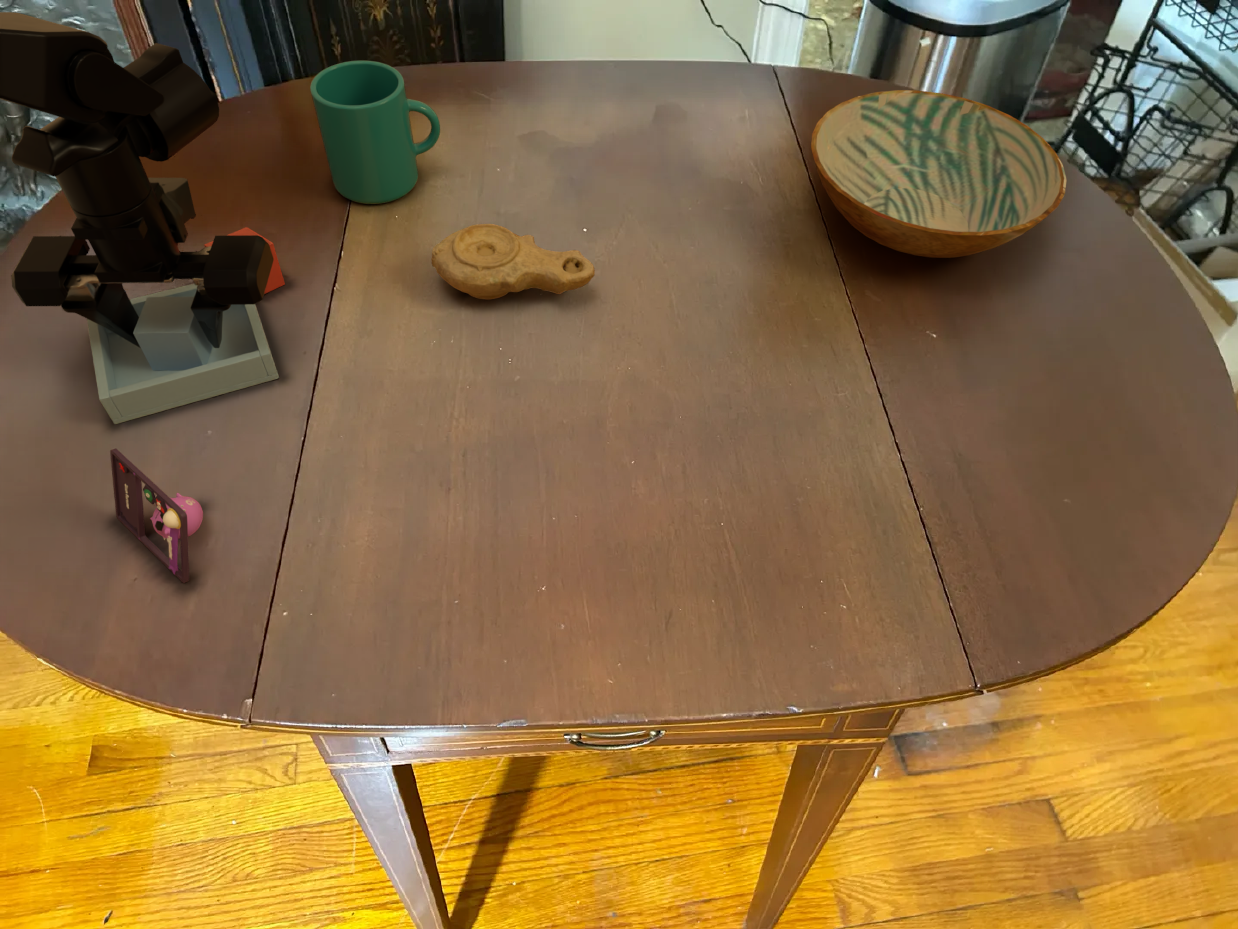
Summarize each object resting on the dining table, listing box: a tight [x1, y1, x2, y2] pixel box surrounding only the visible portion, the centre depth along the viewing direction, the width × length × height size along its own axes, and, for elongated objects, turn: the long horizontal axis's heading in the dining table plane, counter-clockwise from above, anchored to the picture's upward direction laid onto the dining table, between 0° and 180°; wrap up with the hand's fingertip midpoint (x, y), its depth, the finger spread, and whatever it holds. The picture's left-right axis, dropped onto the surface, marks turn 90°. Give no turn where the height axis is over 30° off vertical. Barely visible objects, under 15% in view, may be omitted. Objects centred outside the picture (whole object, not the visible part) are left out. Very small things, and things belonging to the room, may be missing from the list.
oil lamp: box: [430, 223, 596, 300], centre depth 86 cm, size 11×14×5 cm
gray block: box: [133, 297, 213, 371], centre depth 79 cm, size 4×4×4 cm
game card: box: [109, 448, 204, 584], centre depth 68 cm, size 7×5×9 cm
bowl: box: [810, 89, 1068, 259], centre depth 94 cm, size 25×25×8 cm
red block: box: [203, 226, 286, 295], centre depth 86 cm, size 4×4×4 cm
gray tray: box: [86, 283, 280, 425], centre depth 80 cm, size 14×12×3 cm
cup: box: [309, 60, 441, 205], centre depth 94 cm, size 9×12×11 cm
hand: (182, 344), depth 80 cm, fingers open, 6 cm apart
